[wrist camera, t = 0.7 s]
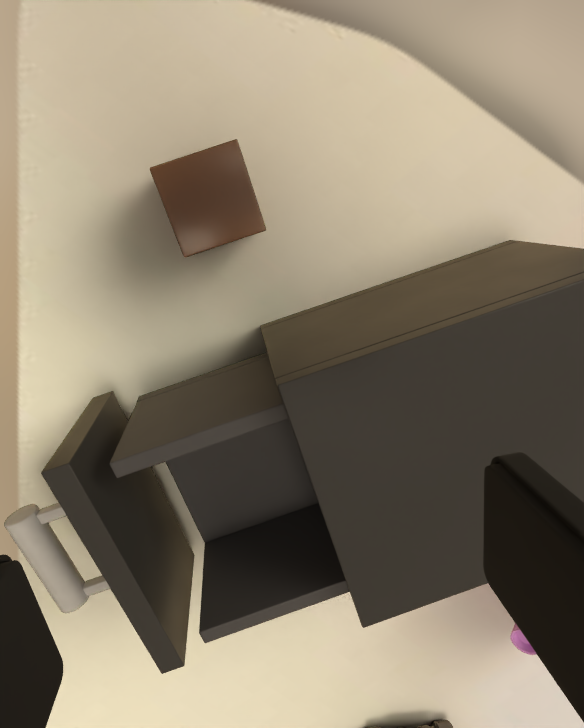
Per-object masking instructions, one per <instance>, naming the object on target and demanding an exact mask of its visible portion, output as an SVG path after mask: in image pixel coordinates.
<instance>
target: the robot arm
mask: <svg viewBox="0 0 584 728" xmlns="http://www.w3.org/2000/svg"><path fill="white" fill-rule="evenodd" d="M483 568H484V573H485V576H486V579H487V581H488V583H489V585H490V587H491V588H492V590H493V591H494V593H495V594H496V595H497V597H498V598H499V600H500V601H501V603H502V604H503V606H504V607H505V609H506V610H507V611H508V613H509V614H510V616H511V617H512V619H513V620H514V622H515V623H516V625H517V626H518V627H519V629H520V630H521V632H522V633H523V635H524V636H525V638H526V639H527V641H528V642H529V643H530V645H531V646H532V648H533V649H534V651H535V652H536V654H537V655H538V657H539V658H540V659H541V661H542V662H543V664H544V665H545V667H546V668H547V670H548V671H549V673H550V674H551V675H552V677H553V678H554V680H555V681H556V683H557V684H558V686H559V687H560V688H561V690H562V691H563V693H564V694H565V696H566V697H567V699H568V700H569V702H570V703H571V704H572V706H573V707H574V709H575V710H576V712H577V713H578V715H579V716H580V718H581V719H582V720H583V722H584V502H582V501H581V500H580V499H579V498H578V497H577V496H575V495H574V494H573V493H572V492H571V491H569V490H568V489H567V488H566V487H565V486H563V485H562V484H561V483H560V482H559V481H557V480H556V479H555V478H554V477H553V476H552V475H550V474H549V473H548V472H547V471H546V470H544V469H543V468H542V467H541V466H540V465H538V464H537V463H536V462H535V461H534V460H532V459H531V458H530V457H529V456H528V455H526V454H525V453H523V452H517V453H512V454H507V455H502V456H497V457H494V458H493V459H492V461H491V465H489V466H486V468H485V471H484V545H483ZM62 676H63V661H62V658H61V655H60V653H59V651H58V648H57V646H56V644H55V641H54V639H53V637H52V635H51V632H50V630H49V628H48V625H47V623H46V621H45V618H44V616H43V614H42V611H41V609H40V607H39V604H38V602H37V600H36V597H35V595H34V593H33V591H32V588H31V586H30V584H29V581H28V579H27V577H26V574H25V572H24V570H23V567H22V565H21V564H20V562H18V561H15V560H14V561H12V560H11V558H10V557H9V556H7V555H0V728H45V727H46V725H47V722H48V719H49V716H50V713H51V710H52V707H53V704H54V701H55V698H56V695H57V693H58V690H59V687H60V684H61V680H62Z"/></svg>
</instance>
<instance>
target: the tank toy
mask: <svg viewBox="0 0 584 728" xmlns="http://www.w3.org/2000/svg"><path fill="white" fill-rule="evenodd" d="M366 728H380V726H376V727H366ZM400 728H404V727H400ZM419 728H453V726H452V724H451V723H450V722H449V721H448V720H441V721H433V723H432V724H431V726H429V725H421V726H419Z"/></svg>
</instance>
